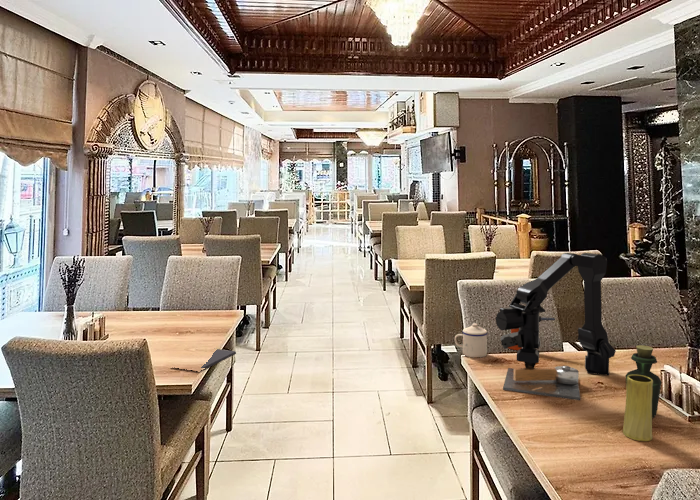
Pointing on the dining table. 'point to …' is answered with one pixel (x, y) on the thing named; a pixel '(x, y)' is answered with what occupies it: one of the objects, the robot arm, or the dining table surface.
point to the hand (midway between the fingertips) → (528, 374)
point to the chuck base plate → (541, 387)
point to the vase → (638, 408)
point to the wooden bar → (547, 374)
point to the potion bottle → (647, 372)
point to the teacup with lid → (473, 341)
